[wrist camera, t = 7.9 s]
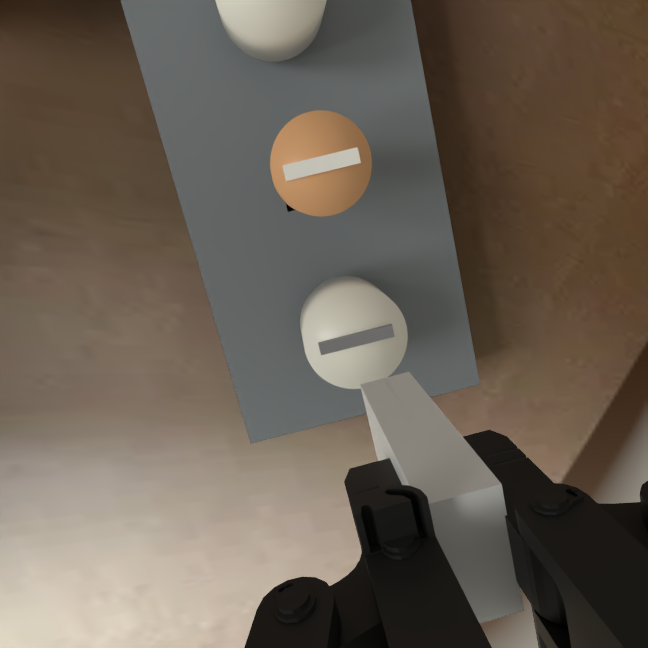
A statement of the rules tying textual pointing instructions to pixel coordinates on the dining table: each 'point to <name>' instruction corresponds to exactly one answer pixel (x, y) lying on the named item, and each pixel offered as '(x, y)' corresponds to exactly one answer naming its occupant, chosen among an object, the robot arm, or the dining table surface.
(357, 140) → the pot knob
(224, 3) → the knob
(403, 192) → the control box
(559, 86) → the dining table surface
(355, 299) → the knob
